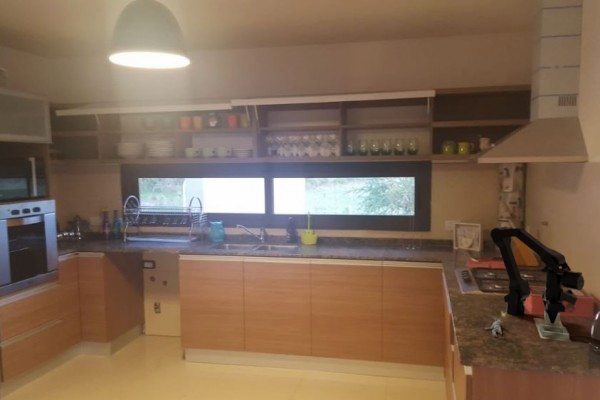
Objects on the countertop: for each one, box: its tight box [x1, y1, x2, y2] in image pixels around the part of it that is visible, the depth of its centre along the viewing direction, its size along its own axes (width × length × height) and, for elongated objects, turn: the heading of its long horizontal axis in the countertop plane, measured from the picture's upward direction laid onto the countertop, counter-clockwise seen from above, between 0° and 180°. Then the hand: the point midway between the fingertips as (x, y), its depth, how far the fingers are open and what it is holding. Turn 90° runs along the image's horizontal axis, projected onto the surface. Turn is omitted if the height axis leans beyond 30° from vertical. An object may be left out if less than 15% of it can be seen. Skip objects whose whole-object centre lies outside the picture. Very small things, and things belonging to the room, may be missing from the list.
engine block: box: [543, 309, 561, 326], centre depth 186 cm, size 5×4×5 cm
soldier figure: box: [484, 317, 504, 338], centre depth 181 cm, size 8×5×12 cm
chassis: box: [533, 317, 572, 344], centre depth 181 cm, size 10×23×3 cm, turn 159°
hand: (551, 321), depth 186 cm, fingers closed on engine block, 4 cm apart
